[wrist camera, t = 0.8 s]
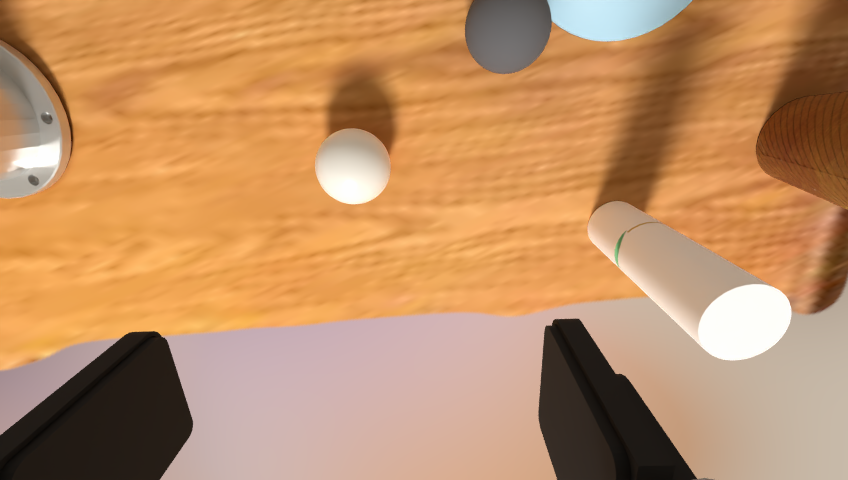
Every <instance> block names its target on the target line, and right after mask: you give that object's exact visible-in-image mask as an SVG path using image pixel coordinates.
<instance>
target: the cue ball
mask: <svg viewBox="0 0 848 480" xmlns="http://www.w3.org/2000/svg"><path fill="white" fill-rule="evenodd" d="M315 170H316V175H317V178H318V181H319V183H320V185H321V186H322V188H323V189H324V190H325V191H326V192H327V193H328V194H329V195H330V196H331V197H333V198H334V199H336V200H338V201H340V202H343V203H348V204H361V203H365V202H368V201H370V200H372V199H374V198H375V197H377V196H378V195H379V194H380V193H381V192H382V191H383V190H384V188H385V187H386V185H387V183H388V181H389V177H390V172H391V162H390V157H389V154H388V152H387V150H386V148H385V146H384V145H383V143H382V142H381V141H380V140H379V139H378V138H377V137H376V136H374V135H373V134H371V133H369V132H367V131H365V130H362V129H356V128H348V129H342V130H339V131H336V132H335V133H333V134H331V135H330V136H329V137H327V138H326V139H325V140H324V141H323V143H322V144H321V146H320V147H319V149H318V152H317V155H316V159H315Z"/></svg>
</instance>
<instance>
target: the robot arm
mask: <svg viewBox="0 0 848 480" xmlns="http://www.w3.org/2000/svg"><path fill="white" fill-rule="evenodd" d="M70 151H71V134H70V127H69V123H68V119H67V116H66V112H65V110H64V108H63V106H62V103H61V101H60V99H59V97H58V95H57V94H56V92H55V90H54V89H53V87H52V86H51V84H50V83H49V81H48V80H47V79H46V78H45V76H44V75H43V74H42V73H41V72H40V70H39V69H38V68H37V67H36V66H35V65H34V64H33V63H32V62H31V61H30V60H28V59H27V58H26V57H25V56H24V55H23V54H22V53H20V52H19V51H17V50H16V49H15V48H13V47H12V46H10V45H9V44H7V43H6V42H4V41H2V40H0V198H7V199H10V198H20V197H25V196H29V195H33V194H37V193H39V192H41V191H44V190H46V189H48V188H50V187H51V186H52V185H53V184H54V183H55V182H57V181H58V180H59V178H60V177H61V175H62V174H63V173H64V171H65V169H66V167H67V164H68V161H69V159H70ZM539 423H540V428H541V431H542V434H543V437H544V440H545V443H546V446H547V449H548V452H549V456H550V459H551V462H552V465H553V467H554V471H555V474H556V477H557V480H713V479H707V478H703V479H697V478H696V477H695V475H694V474H693V472H692V471H691V469H690V468H689V466H688V465H687V464H686V462H685V461H684V459H683V458H682V456H681V455H680V454H679V452H678V451H677V449H676V448H675V446H674V445H673V443H672V442H671V440H670V439H669V437H668V436H667V435H666V433H665V432H664V430H663V429H662V427H661V426H660V425H659V423H658V422H657V421H656V419H655V417H654V416H653V414H652V413H651V411H650V410H649V409H648V407H647V406H646V404H645V403H644V401H643V400H642V398H641V397H640V395H639V394H638V393H637V391H636V390H635V388H634V387H633V385H632V384H631V382H630V381H629V380H628V379H627V378H626V376H624V375H622V374H615V372H614V371H613V369H612V368H611V366H610V365H609V363H608V362H607V360H606V359H605V357H604V356H603V354H602V353H601V351H600V349H599V348H598V347H597V345H596V343H595V342H594V340H593V339H592V337H591V336H590V334H589V333H588V331H587V330H586V328H585V327H584V325H583V324H582V322H581V321H580V320H579V319H555V320H554V321H553V323H552V326H546V327H545V333H544V346H543V359H542V372H541V386H540V399H539ZM192 428H193V420H192V417H191V414H190V411H189V408H188V404H187V401H186V398H185V395H184V392H183V389H182V386H181V382H180V379H179V376H178V373H177V370H176V367H175V364H174V361H173V357H172V354H171V351H170V348H169V345H168V342H167V340H166V339H165V338H163V337H161V335H160V334H159V333H158V332H155V331H152V332H131V333H128V334H126V335H125V336H123V337H122V338H121V339H120V340H118V341H117V342H116V343H115V344H113V346H111V347H110V348H108V349H107V350H106V351H105V352H104V353H102V354H101V355H100V356H99V357H97V358H96V359H95V360H94V361H92V362H91V363H90V364H89V365H87V366H86V367H85V368H84V369H82V370H81V371H80V372H79V373H77V374H76V375H75V376H74V377H72V378H71V379H70V380H69V381H67V382H66V383H65V384H64V385H63V386H61V387H60V388H59V389H57V390H56V391H55V392H54V393H52V394H51V395H50V396H49V397H47V398H46V399H45V400H44V401H42V402H41V403H40V404H39V405H38V406H36V407H35V408H34V409H33V410H31V411H30V412H29V413H28V414H26V415H25V416H24V417H23V418H21V419H20V420H19V421H18V422H16V423H15V424H14V425H13V426H11V427H10V428H9V429H8V430H6V431H5V432H4V433H3V434H1V435H0V480H160V478H161V477H162V476H163V474H164V473H165V471H166V470H167V468H168V467H169V465H170V464H171V463H172V461H173V460H174V458H175V457H176V455H177V454H178V452H179V451H180V450H181V448H182V447H183V445H184V444H185V442H186V441H187V439H188V438H189V436H190V434H191V432H192Z"/></svg>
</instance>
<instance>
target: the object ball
mask: <svg viewBox="0 0 848 480" xmlns="http://www.w3.org/2000/svg"><path fill="white" fill-rule="evenodd" d="M551 23H552V19H551V11H550V7H549V4H548V1H547V0H474V1H473V3H472V5H471V7H470V9H469V11H468V15H467V18H466V24H465V37H466V42H467V46H468V49H469V51H470V53H471V55H472V57H473V58H474V59H475V61H476V62H477V63H478V64H479V65H481V66H482V67H483V68H485V69H487V70H489V71H491V72H494V73H499V74H509V73H514V72H517V71H520V70H522V69H524V68H526V67H527V66H529V65H530V64H532V63H533V62H534V61H535V60H536V59H537V58H538V57H539V56H540V54H541V53H542V51H543V50H544V48H545V46H546V44H547V41H548V39H549V36H550V32H551Z"/></svg>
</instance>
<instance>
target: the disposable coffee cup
mask: <svg viewBox="0 0 848 480" xmlns="http://www.w3.org/2000/svg"><path fill="white" fill-rule="evenodd" d="M756 154H757V158H758V162H759V164H760V166H761V168H762V169H763V170H764V171H765V173H767V174H768V175H770V176H772V177H774V178H777V179H779V180H781V181H783V182H786V183H788V184H790V185H792V186H795V187H797V188H799V189H802V190H804V191H806V192H809V193H811V194H813V195H816V196H818V197H820V198H822V199H825V200H827V201H829V202H831V203H834V204H836V205H838V206H841V207H843V208H845V209H848V91H847V92H839V93H831V94H825V95H824V94H823V95H817V96H806V97H802V98H798V99H796V100H793V101H791V102H789V103H787V104H786V105H784V106H783V107H781V108H780V109H779V110H778V111H776V112H775V113H774V114H773V115H772V116H771V118H770V119H769V120H768V121H767V123H766V124H765V125H764V127H763V129H762V131H761V133H760V135H759V138H758V142H757V149H756Z"/></svg>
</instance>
